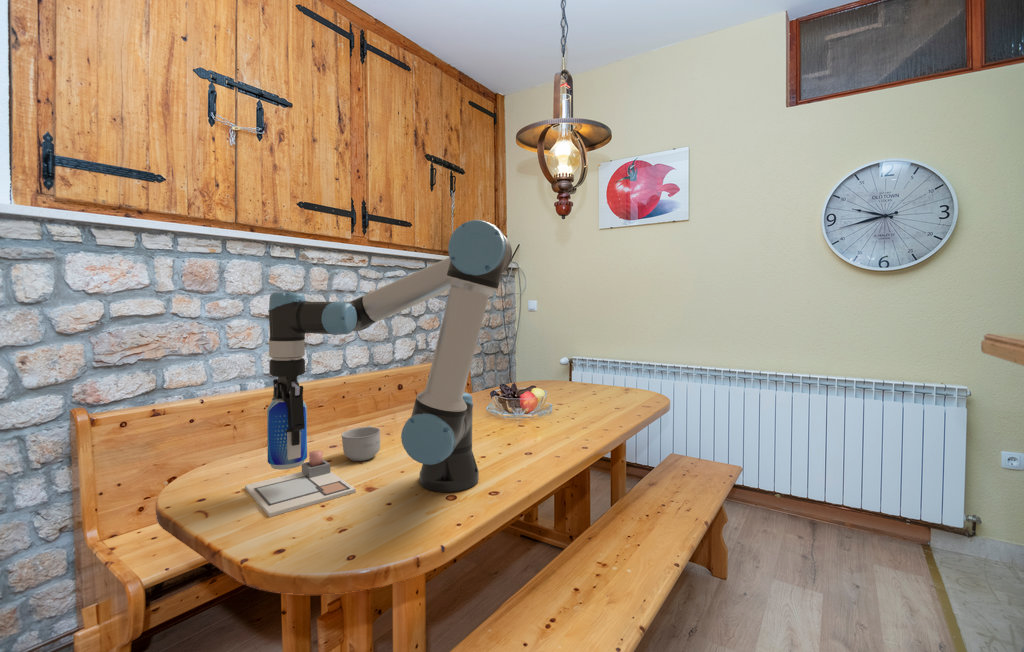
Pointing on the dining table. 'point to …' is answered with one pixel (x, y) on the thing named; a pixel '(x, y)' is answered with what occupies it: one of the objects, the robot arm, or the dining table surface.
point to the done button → (315, 458)
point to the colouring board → (298, 489)
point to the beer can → (282, 436)
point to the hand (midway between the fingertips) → (288, 453)
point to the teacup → (361, 443)
